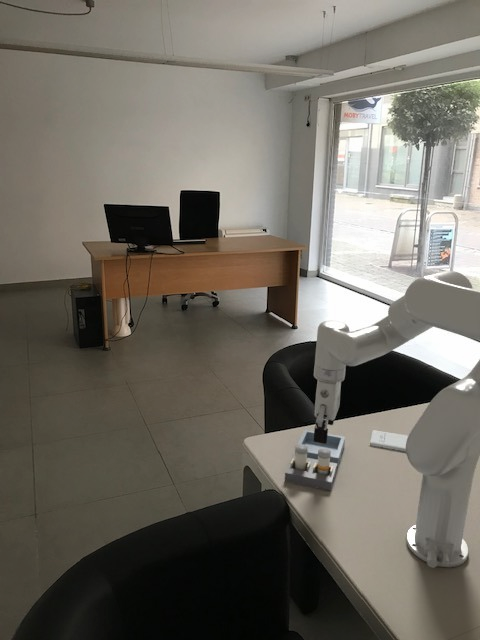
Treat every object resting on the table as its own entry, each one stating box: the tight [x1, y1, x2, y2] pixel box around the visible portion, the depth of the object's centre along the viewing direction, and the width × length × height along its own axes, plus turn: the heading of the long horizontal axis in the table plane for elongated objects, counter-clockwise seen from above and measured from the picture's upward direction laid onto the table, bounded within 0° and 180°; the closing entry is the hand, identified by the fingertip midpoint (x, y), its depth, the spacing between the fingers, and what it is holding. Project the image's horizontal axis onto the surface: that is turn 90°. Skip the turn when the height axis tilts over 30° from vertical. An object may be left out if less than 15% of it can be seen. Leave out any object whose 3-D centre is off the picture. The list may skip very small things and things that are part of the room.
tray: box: [297, 429, 346, 469], centre depth 150 cm, size 12×12×3 cm
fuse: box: [294, 443, 308, 471], centre depth 138 cm, size 3×3×8 cm
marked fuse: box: [317, 448, 331, 476], centre depth 137 cm, size 3×3×8 cm
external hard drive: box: [369, 429, 409, 453], centre depth 156 cm, size 2×8×12 cm
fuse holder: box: [284, 454, 338, 492], centre depth 138 cm, size 9×12×4 cm
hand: (323, 432), depth 134 cm, fingers open, 9 cm apart
